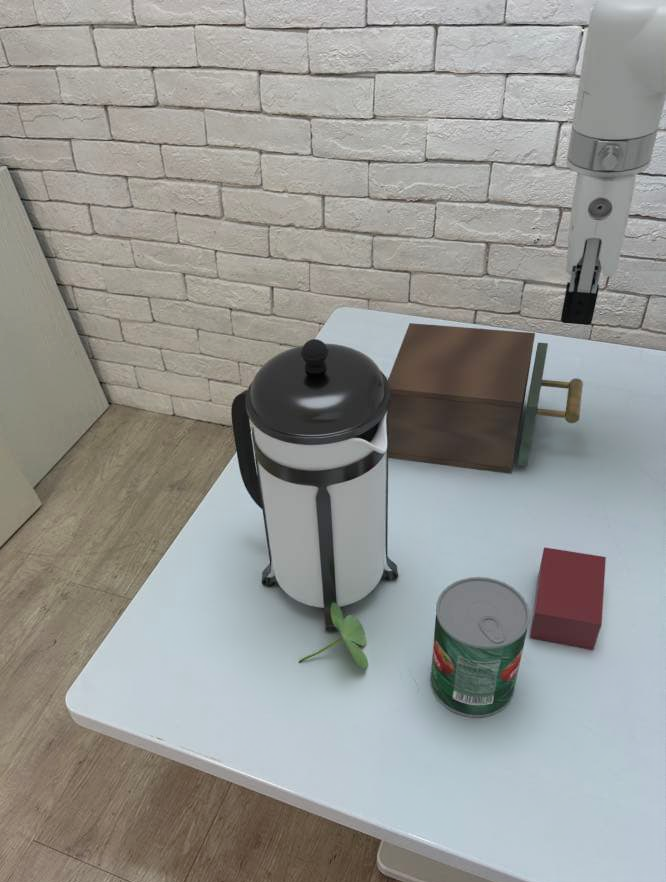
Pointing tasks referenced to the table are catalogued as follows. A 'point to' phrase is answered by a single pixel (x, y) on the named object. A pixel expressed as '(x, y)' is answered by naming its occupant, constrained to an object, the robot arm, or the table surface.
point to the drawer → (533, 410)
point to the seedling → (347, 635)
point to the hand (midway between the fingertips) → (576, 319)
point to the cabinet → (458, 396)
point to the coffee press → (319, 471)
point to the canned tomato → (478, 645)
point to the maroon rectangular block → (569, 598)
